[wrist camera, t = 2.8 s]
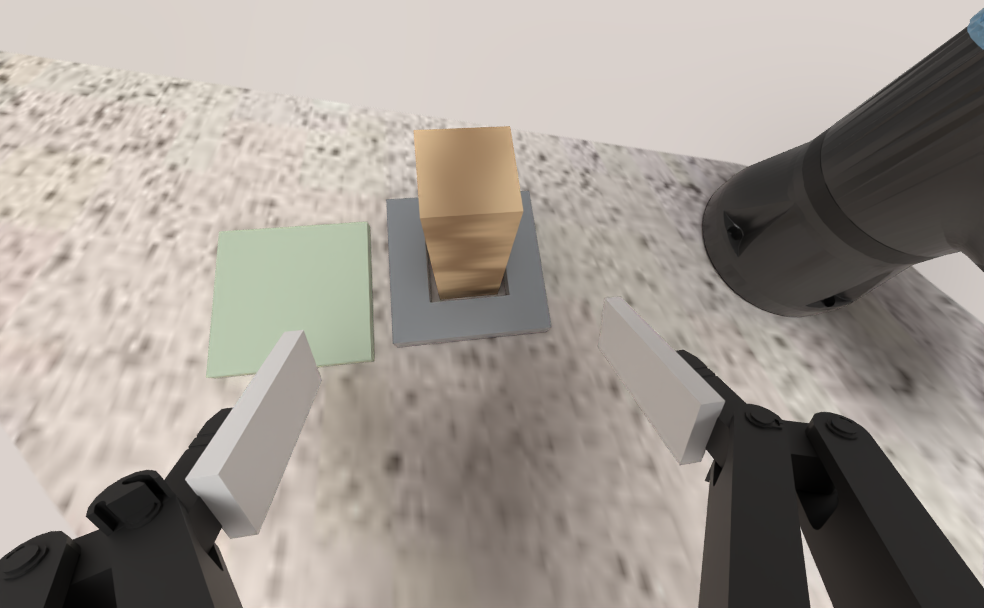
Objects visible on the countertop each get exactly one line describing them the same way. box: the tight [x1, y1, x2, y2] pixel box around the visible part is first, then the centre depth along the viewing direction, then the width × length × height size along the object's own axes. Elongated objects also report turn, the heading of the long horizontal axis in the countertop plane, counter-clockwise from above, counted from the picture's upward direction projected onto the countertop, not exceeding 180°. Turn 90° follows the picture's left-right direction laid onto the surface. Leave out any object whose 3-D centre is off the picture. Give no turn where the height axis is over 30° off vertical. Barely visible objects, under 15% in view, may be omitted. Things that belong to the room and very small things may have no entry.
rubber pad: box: [206, 222, 374, 378], centre depth 29 cm, size 12×12×1 cm
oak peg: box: [414, 126, 523, 300], centre depth 24 cm, size 5×5×14 cm
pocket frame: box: [386, 191, 551, 347], centre depth 30 cm, size 12×12×2 cm
